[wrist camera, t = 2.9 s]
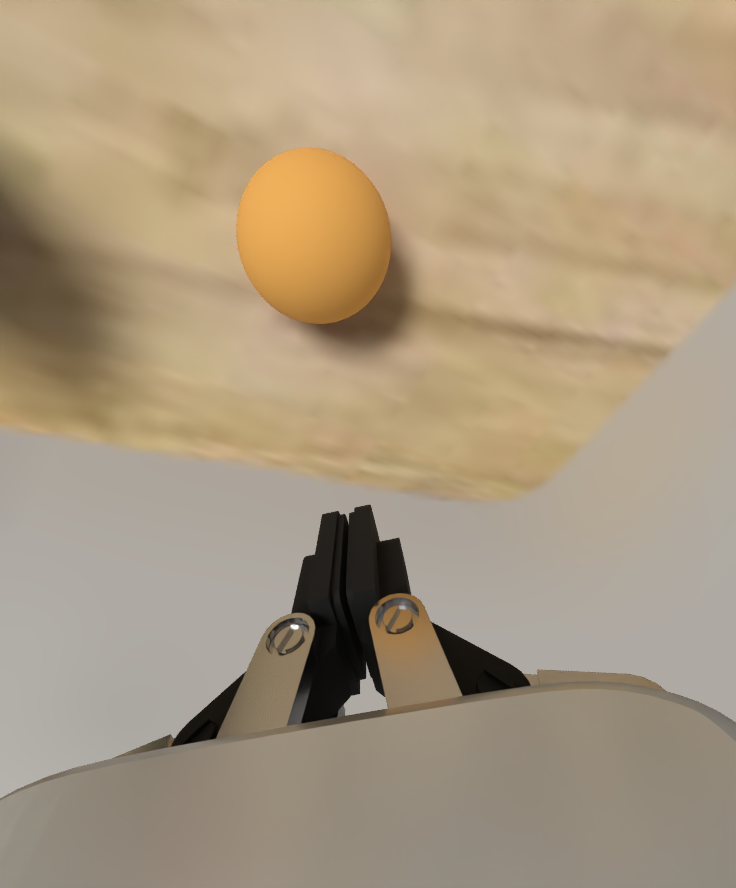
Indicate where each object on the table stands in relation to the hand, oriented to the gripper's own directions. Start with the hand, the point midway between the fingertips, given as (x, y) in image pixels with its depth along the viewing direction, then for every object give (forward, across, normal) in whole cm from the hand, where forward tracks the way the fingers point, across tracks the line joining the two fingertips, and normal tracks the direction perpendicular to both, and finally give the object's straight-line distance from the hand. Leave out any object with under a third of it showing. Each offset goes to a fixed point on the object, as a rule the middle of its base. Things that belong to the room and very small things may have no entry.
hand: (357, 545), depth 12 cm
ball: (+5, -1, -10) cm, 11 cm away
